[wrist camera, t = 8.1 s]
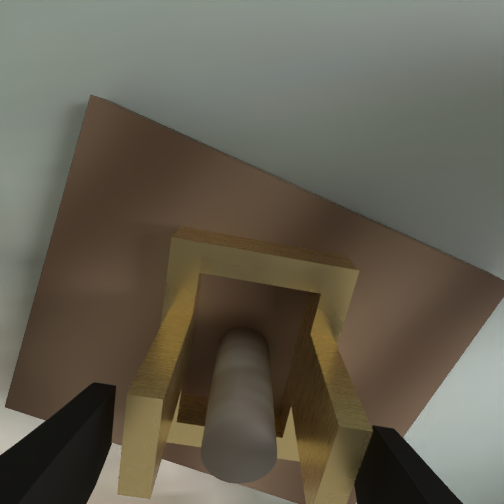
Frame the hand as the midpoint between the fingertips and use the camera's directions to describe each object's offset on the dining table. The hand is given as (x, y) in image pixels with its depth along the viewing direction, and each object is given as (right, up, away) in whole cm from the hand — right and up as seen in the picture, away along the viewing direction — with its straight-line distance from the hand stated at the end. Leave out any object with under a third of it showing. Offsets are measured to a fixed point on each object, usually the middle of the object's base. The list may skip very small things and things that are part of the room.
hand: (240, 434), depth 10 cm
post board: (0, +2, +5) cm, 5 cm away
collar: (0, +2, +4) cm, 4 cm away
